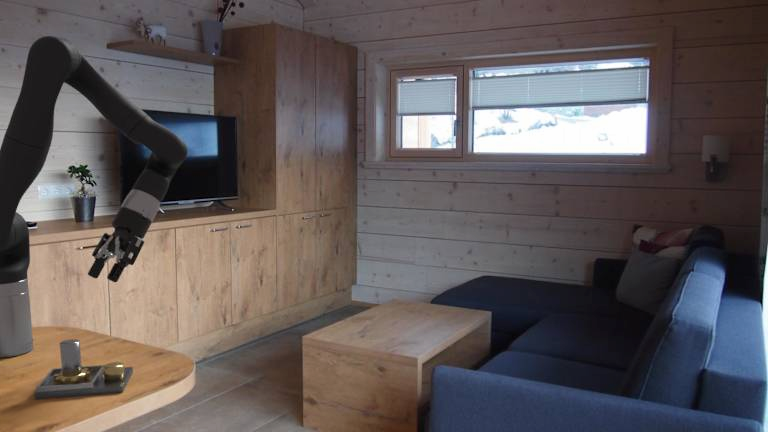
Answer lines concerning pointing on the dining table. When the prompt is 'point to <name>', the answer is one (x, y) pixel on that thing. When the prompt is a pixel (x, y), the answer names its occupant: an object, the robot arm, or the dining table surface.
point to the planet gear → (71, 364)
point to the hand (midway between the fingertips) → (101, 278)
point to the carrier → (87, 382)
